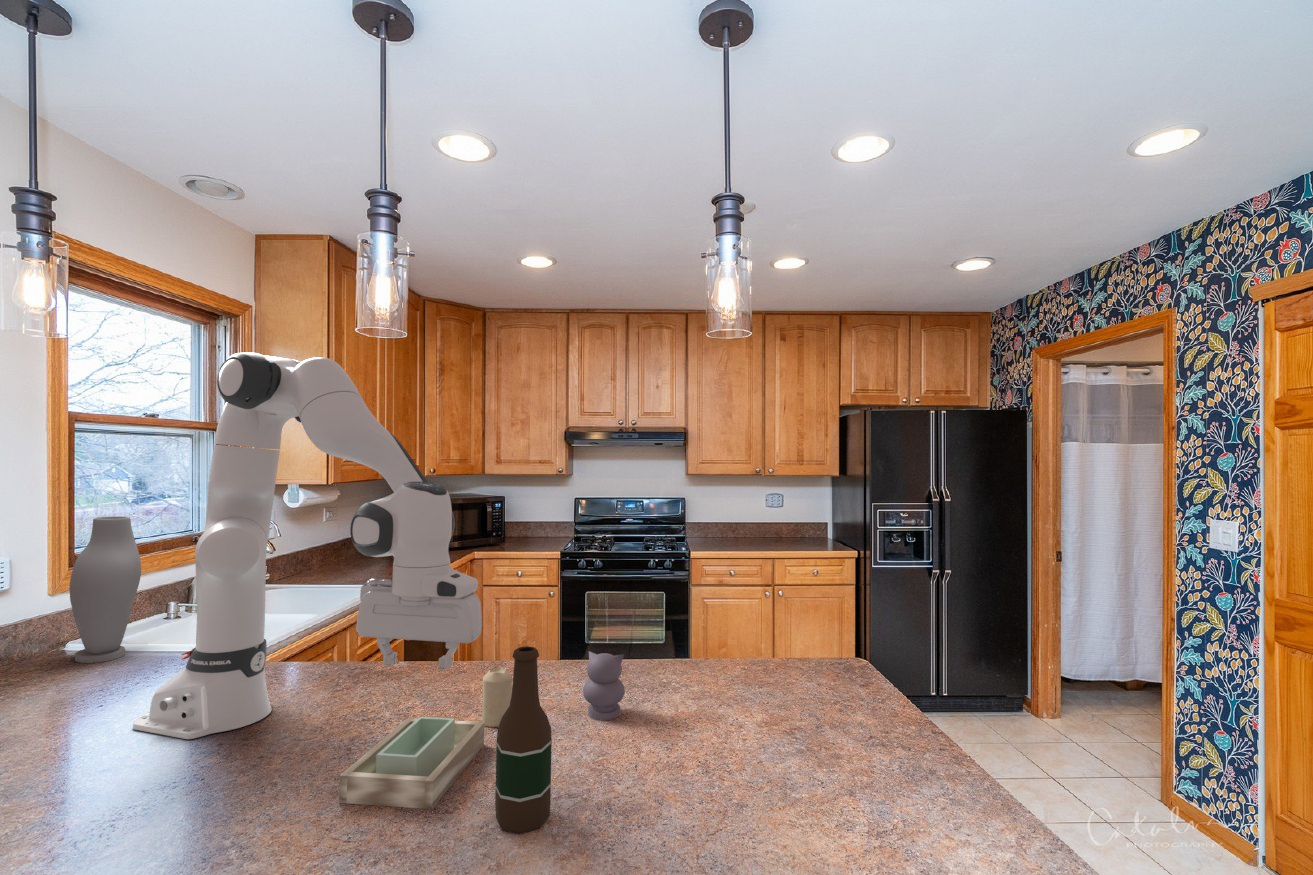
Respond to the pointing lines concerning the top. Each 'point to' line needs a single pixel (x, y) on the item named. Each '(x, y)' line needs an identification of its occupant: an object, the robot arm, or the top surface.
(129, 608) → the vase
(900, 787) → the top surface
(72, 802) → the top surface
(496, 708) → the candle
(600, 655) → the cat figurine
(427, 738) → the green crate
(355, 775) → the box
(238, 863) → the top surface
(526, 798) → the beer bottle
